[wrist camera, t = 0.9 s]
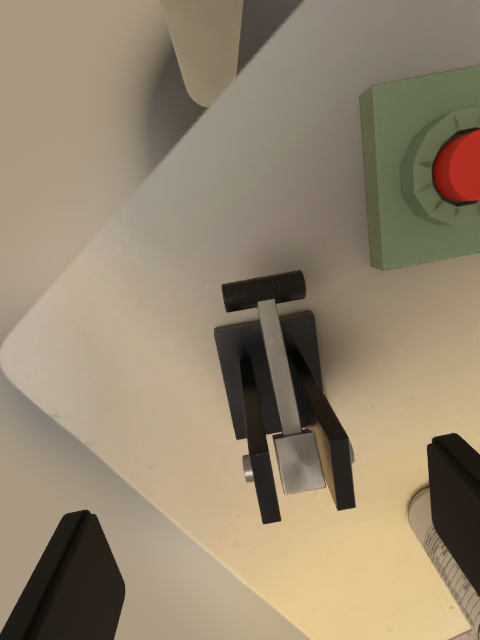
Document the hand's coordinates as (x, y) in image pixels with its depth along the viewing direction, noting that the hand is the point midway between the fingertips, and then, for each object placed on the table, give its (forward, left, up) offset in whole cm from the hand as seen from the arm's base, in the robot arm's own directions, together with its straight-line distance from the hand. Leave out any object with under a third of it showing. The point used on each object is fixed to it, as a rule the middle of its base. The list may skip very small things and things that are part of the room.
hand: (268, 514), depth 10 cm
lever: (+3, +1, -12) cm, 12 cm away
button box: (-2, +18, -20) cm, 27 cm away
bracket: (+6, 0, -20) cm, 21 cm away
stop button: (-2, +18, -16) cm, 24 cm away
